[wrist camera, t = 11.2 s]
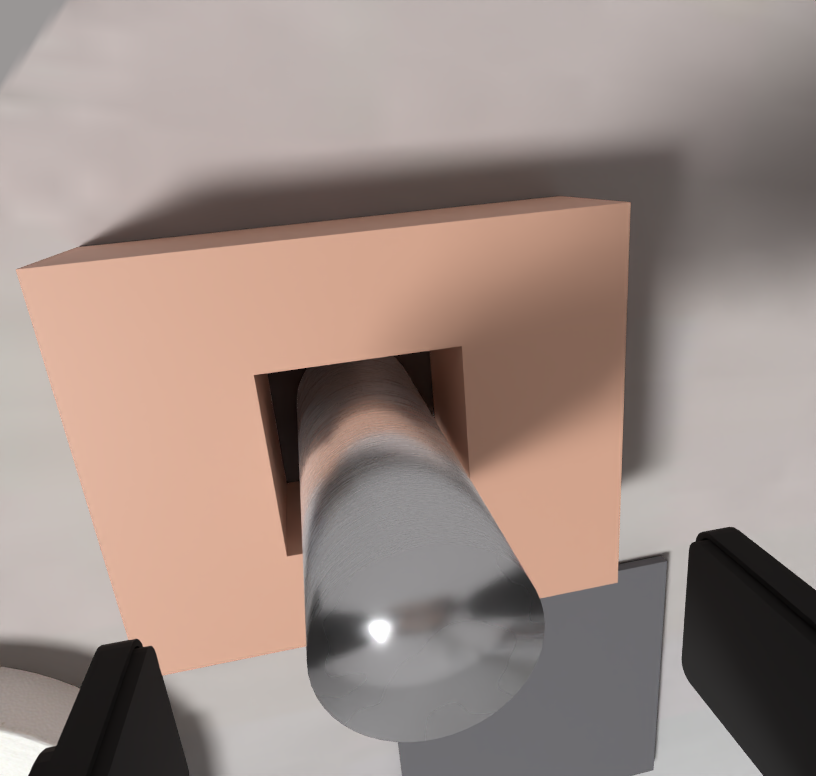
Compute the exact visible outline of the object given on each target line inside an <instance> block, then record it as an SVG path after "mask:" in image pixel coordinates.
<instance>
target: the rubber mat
mask: <svg viewBox="0 0 816 776" xmlns="http://www.w3.org/2000/svg"><path fill="white" fill-rule="evenodd" d="M666 572H667V560H666V559H665V558H664V557H663V556H658V557H653V558H648V559H643V560H638V561H633V562H628V563H623V564H618V583H613V584H608V585H604V586H599V587H594V588H589V589H584V590H579V591H574V592H569V593H564V594H559V595H555V596H550V597H545V598H540V600H541V604H542V608H543V611H544V620H545V631H544V640H543V645H542V649H541V652H540V655H539V658H538V661H537V663H536V665H535V667H534V669H533V671H532V673H531V674H530V676H529V677H528V679H527V680H526V682H525V683H524V685H523V686H522V687H521V688H520V690H519V691H518V692H517V693H516V694H515V695H514V696H513V697H512V698H511V699H510V700H509V701H508V702H507V703H506V704H505V705H504V706H503V707H501V708H500V709H499V710H498V711H496V712H495V713H494V714H492V715H491V716H489V717H488V718H486V719H484V720H483V721H481V722H480V723H478V724H476V725H474V726H472V727H470V728H468V729H465V730H463V731H460V732H457V733H455V734H452V735H449V736H445V737H441V738H438V739H432V740H426V741H417V742H398V746H399V754H400V762H401V770H402V776H632V775H636V774H640V773H644V772H648V771H652V770H653V768H654V753H655V738H656V723H657V708H658V693H659V678H660V663H661V647H662V632H663V617H664V602H665V587H666Z"/></svg>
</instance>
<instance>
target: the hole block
mask: <svg viewBox="0 0 816 776" xmlns="http://www.w3.org/2000/svg"><path fill="white" fill-rule="evenodd" d="M630 206H631V202H623V201H612V200H600V199H589V198H577V197H566V196H555V197H545V198H536V199H527V200H517V201H508V202H498V203H489V204H479V205H470V206H461V207H451V208H442V209H432V210H423V211H413V212H404V213H395V214H385V215H376V216H366V217H357V218H347V219H338V220H329V221H319V222H310V223H300V224H291V225H281V226H272V227H263V228H253V229H244V230H234V231H225V232H215V233H206V234H197V235H187V236H178V237H168V238H159V239H150V240H140V241H131V242H121V243H112V244H102V245H93V246H84V247H76V248H74V249H71V250H68V251H65V252H63V253H60V254H57V255H54V256H52V257H49V258H46V259H43V260H41V261H38V262H35V263H32V264H30V265H27V266H24V267H21V268H19V269H16V272H17V275H18V279H19V282H20V285H21V288H22V292H23V295H24V298H25V302H26V305H27V308H28V311H29V315H30V318H31V321H32V325H33V328H34V331H35V334H36V338H37V341H38V344H39V347H40V351H41V354H42V357H43V361H44V364H45V367H46V370H47V374H48V377H49V380H50V384H51V387H52V390H53V393H54V397H55V400H56V403H57V407H58V410H59V413H60V416H61V420H62V423H63V426H64V430H65V433H66V436H67V439H68V443H69V446H70V449H71V453H72V456H73V459H74V462H75V466H76V469H77V472H78V476H79V479H80V482H81V485H82V489H83V492H84V495H85V499H86V502H87V505H88V508H89V512H90V515H91V518H92V522H93V525H94V528H95V531H96V535H97V538H98V541H99V545H100V548H101V551H102V554H103V558H104V561H105V564H106V568H107V571H108V574H109V577H110V581H111V584H112V587H113V591H114V594H115V597H116V600H117V604H118V607H119V610H120V614H121V617H122V620H123V623H124V627H125V630H126V633H127V636H128V640H132V639H139V640H140V641H141V643H142V645H143V647H146V646H153V648H154V649H155V652H156V655H157V659H158V662H159V666H160V670H161V673H162V675H167V674H172V673H177V672H182V671H187V670H192V669H197V668H202V667H207V666H211V665H216V664H221V663H226V662H231V661H236V660H241V659H246V658H251V657H256V656H260V655H265V654H270V653H275V652H280V651H285V650H290V649H295V648H300V647H305V646H306V625H305V600H304V575H303V550H302V524H301V499H300V481H297V482H291V483H286V477H285V471H284V465H283V460H282V454H281V448H280V443H279V437H278V431H277V426H276V420H275V414H274V408H273V403H272V397H271V391H270V386H269V380H268V374H267V373H273V372H280V371H287V370H294V369H301V368H308V367H316V366H323V365H330V364H337V363H344V362H351V361H358V360H366V359H373V358H380V357H387V356H394V355H401V354H409V353H416V352H423V351H430V363H431V375H432V388H433V401H434V413H435V421H436V422H437V424H438V426H439V427H440V429H441V431H442V432H443V434H444V436H445V437H446V439H447V441H448V443H449V444H450V446H451V448H452V449H453V451H454V453H455V454H456V456H457V458H458V459H459V461H460V463H461V464H462V466H463V468H464V469H465V471H466V473H467V474H468V476H469V478H470V480H471V481H472V483H473V485H474V486H475V488H476V490H477V491H478V493H479V495H480V496H481V498H482V500H483V501H484V503H485V505H486V506H487V508H488V510H489V511H490V513H491V515H492V517H493V518H494V520H495V522H496V523H497V525H498V527H499V528H500V530H501V532H502V533H503V535H504V537H505V538H506V540H507V542H508V543H509V545H510V547H511V549H512V550H513V552H514V554H515V555H516V557H517V559H518V560H519V562H520V564H521V565H522V567H523V569H524V570H525V572H526V574H527V575H528V577H529V579H530V580H531V582H532V584H533V586H534V587H535V589H536V591H537V593H538V596H539V598H545V597H550V596H555V595H559V594H564V593H569V592H574V591H579V590H584V589H589V588H594V587H599V586H604V585H608V584H613V583H618V558H619V529H620V499H621V470H622V441H623V411H624V382H625V353H626V323H627V294H628V264H629V235H630Z"/></svg>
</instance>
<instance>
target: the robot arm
mask: <svg viewBox="0 0 816 776" xmlns="http://www.w3.org/2000/svg"><path fill="white" fill-rule="evenodd" d="M682 666H683V670H684V673H685V675H686V677H687V679H688V681H689V682H690V684H691V685H692V686H693V687H694V689H695V690H696V691H697V693H698V694H699V695H700V696H701V698H702V699H703V700H704V701H705V703H706V704H707V705H708V706H709V708H710V709H711V710H712V711H713V713H714V714H715V715H716V716H717V718H718V719H719V720H720V722H721V723H722V724H723V725H724V727H725V728H726V729H727V730H728V732H729V733H730V734H731V735H732V737H733V738H734V739H735V740H736V742H737V743H738V744H739V745H740V747H741V748H742V749H743V751H744V752H745V753H746V754H747V756H748V757H749V758H750V759H751V761H752V762H753V763H754V764H755V766H756V767H757V768H758V769H759V771H760V772H761V773H762V774H763V776H816V590H815V589H813V588H812V587H811V586H809V585H808V584H807V583H806V582H804V581H803V580H802V579H801V578H799V577H798V576H797V575H795V574H794V573H793V572H792V571H790V570H789V569H788V568H786V567H785V566H784V565H783V564H781V563H780V562H779V561H777V560H776V559H775V558H774V557H772V556H771V555H770V554H768V553H767V552H766V551H765V550H763V549H762V548H761V547H759V546H758V545H757V544H756V543H754V542H753V541H752V540H750V539H749V538H748V537H747V536H745V535H744V534H743V533H742V532H740V531H739V530H737V529H736V528H734V527H726V528H721V529H716V530H710V531H705V532H701V533H699V534H698V536H697V538H696V542H693V543H692V544H691V545H690V548H689V559H688V574H687V588H686V603H685V618H684V633H683V647H682ZM28 776H189V771H188V766H187V762H186V759H185V755H184V752H183V748H182V745H181V741H180V737H179V734H178V730H177V727H176V723H175V720H174V716H173V712H172V709H171V705H170V702H169V698H168V695H167V691H166V687H165V684H164V680H163V677H162V673H161V670H160V666H159V662H158V659H157V655H156V652H155V649H154V648H153V646H146V647H143V645H142V643H141V641H140V640H139V639H132V640H127V641H122V642H116V643H111V644H106V645H101V646H100V647H98V649H97V651H96V652H95V655H94V657H93V659H92V662H91V664H90V667H89V669H88V671H87V674H86V676H85V678H84V681H83V683H82V686H81V688H80V690H79V693H78V695H77V697H76V700H75V702H74V705H73V707H72V709H71V712H70V714H69V716H68V719H67V721H66V724H65V726H64V728H63V731H62V733H61V735H60V738H59V740H58V743H57V745H56V746H53V747H48V748H45V749H44V750H43V751H42V752H41V753H40V754H39V755H38V757H37V759H36V760H35V762H34V764H33V766H32V768H31V770H30V773H29V775H28Z"/></svg>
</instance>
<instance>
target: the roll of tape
mask: <svg viewBox="0 0 816 776" xmlns="http://www.w3.org/2000/svg"><path fill="white" fill-rule="evenodd" d="M79 690H80V688H78V687H75V686H73V685H70V684H67V683H65V682H62V681H60V680H57V679H54V678H50V677H47V676H44V675H40V674H37V673H32V672H28V671H24V670H18V669H13V668H7V667H1V666H0V776H28V775H29V773H30V770H31V768H32V766H33V764H34V762H35V760H36V759H37V757H38V755H39V754H40V753H41V752H42V751H43V750H44V749H45V748H48V747H53V746H56V745H57V743H58V740H59V738H60V735H61V733H62V731H63V728H64V726H65V724H66V721H67V719H68V716H69V714H70V712H71V709H72V707H73V705H74V702H75V700H76V697H77V695H78V693H79Z"/></svg>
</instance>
